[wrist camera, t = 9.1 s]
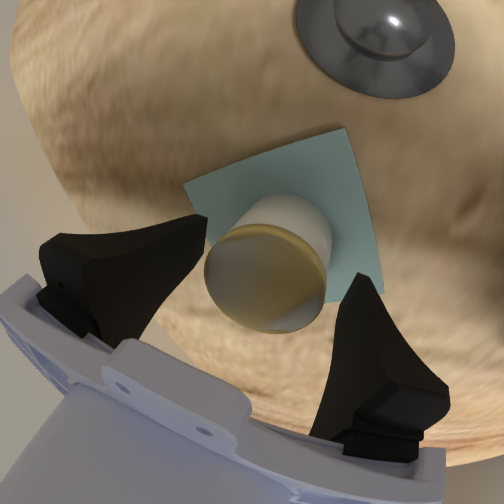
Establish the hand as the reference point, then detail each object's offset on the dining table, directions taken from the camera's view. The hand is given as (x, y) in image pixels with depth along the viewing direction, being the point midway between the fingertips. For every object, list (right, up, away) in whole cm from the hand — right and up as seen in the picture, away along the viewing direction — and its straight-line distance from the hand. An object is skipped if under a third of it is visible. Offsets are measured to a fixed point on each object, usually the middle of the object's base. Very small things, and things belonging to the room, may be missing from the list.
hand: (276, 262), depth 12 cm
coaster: (+1, +2, +3) cm, 3 cm away
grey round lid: (+5, +11, -4) cm, 12 cm away
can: (+1, +1, +2) cm, 2 cm away
